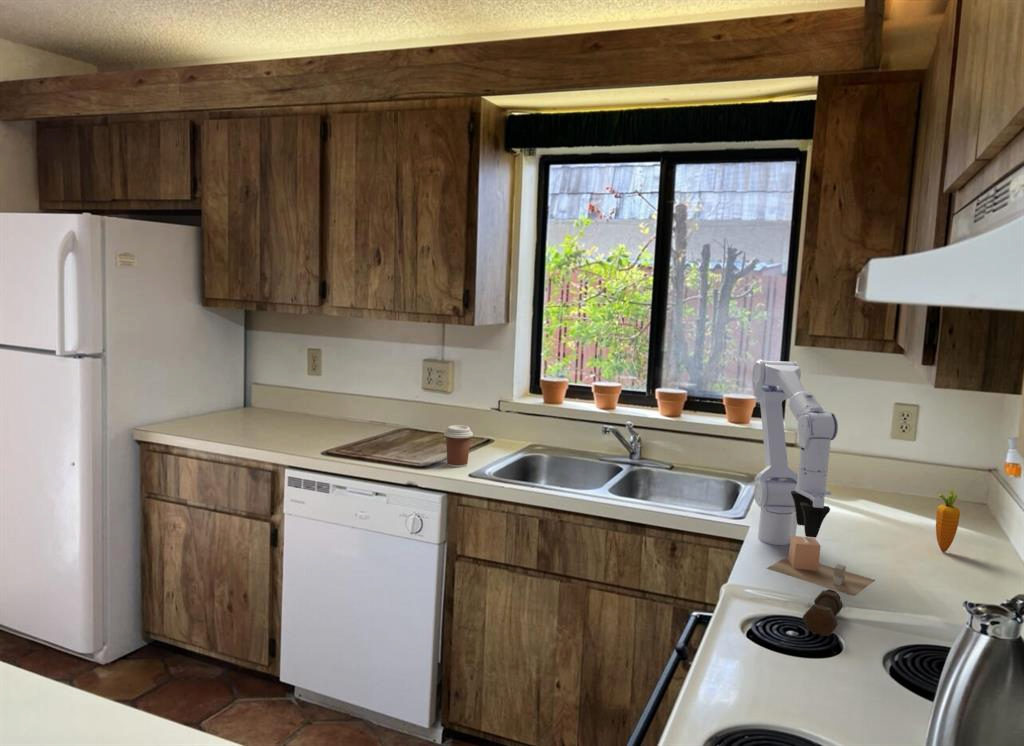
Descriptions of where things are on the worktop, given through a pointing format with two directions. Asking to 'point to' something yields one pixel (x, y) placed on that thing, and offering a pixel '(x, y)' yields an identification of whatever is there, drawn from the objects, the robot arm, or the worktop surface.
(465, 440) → the coffee cup
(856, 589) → the board
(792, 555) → the salmon orange block
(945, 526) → the carrot
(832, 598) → the bolt
